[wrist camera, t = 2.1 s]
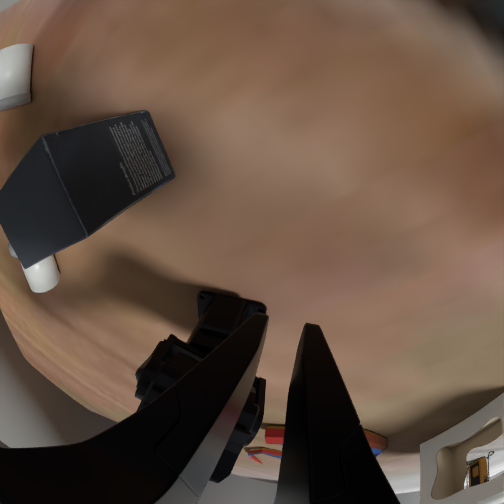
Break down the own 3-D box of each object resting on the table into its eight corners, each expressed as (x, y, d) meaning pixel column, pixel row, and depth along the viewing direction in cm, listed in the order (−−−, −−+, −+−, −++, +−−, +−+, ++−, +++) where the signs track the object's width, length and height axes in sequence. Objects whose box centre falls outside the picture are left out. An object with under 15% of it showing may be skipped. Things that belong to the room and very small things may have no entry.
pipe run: (69, 276, 31) (40, 303, 26) (44, 266, 32) (18, 289, 27) (43, 41, 15) (-1, 44, 10) (18, 56, 16) (-20, 62, 11)
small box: (99, 217, 25) (23, 274, 16) (74, 160, 22) (-11, 202, 13) (179, 180, 21) (87, 244, 12) (148, 107, 18) (37, 129, 9)
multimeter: (481, 463, 43) (483, 510, 26) (461, 469, 45) (461, 518, 28) (507, 445, 35) (512, 497, 19) (487, 452, 37) (490, 507, 21)
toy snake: (326, 470, 50) (324, 486, 46) (239, 457, 51) (234, 474, 47) (402, 422, 34) (404, 447, 30) (276, 408, 35) (271, 437, 31)
